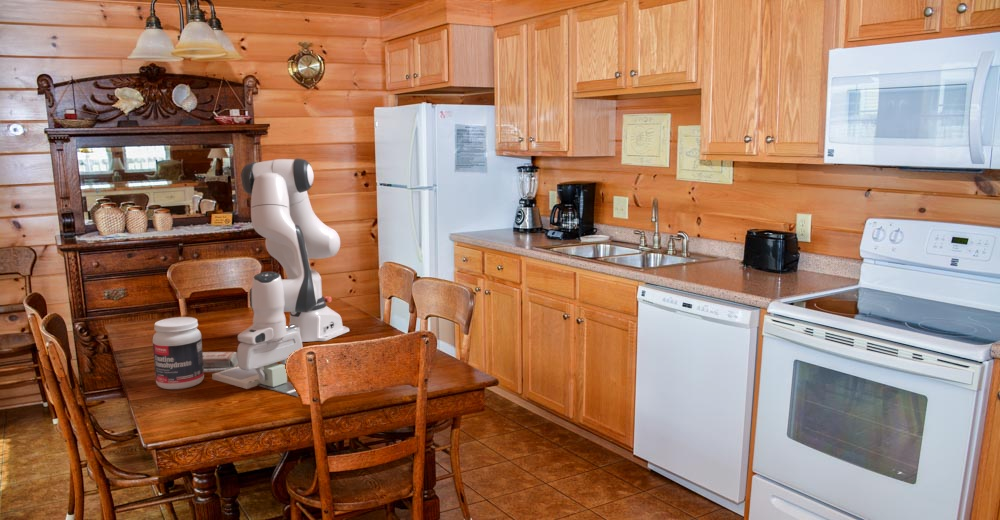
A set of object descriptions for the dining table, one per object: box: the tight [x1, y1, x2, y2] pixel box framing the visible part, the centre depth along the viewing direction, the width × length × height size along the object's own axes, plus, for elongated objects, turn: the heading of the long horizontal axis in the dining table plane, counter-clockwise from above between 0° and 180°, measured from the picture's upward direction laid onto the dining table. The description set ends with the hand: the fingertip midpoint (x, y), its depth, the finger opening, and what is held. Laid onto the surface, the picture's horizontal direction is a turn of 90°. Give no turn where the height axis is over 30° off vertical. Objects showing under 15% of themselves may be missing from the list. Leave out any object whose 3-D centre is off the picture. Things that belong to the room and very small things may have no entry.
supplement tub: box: [152, 316, 205, 390], centre depth 217 cm, size 13×13×18 cm
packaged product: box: [202, 351, 238, 373], centre depth 234 cm, size 18×5×10 cm
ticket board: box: [211, 365, 299, 398], centre depth 218 cm, size 13×33×2 cm, turn 55°
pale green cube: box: [259, 362, 288, 387], centre depth 216 cm, size 5×6×5 cm
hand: (272, 377), depth 217 cm, fingers closed on pale green cube, 5 cm apart
